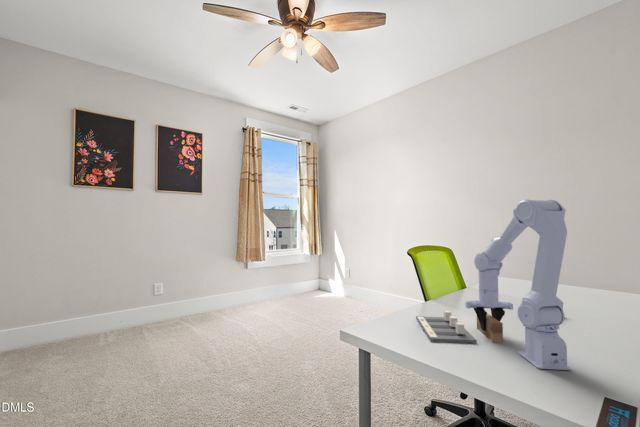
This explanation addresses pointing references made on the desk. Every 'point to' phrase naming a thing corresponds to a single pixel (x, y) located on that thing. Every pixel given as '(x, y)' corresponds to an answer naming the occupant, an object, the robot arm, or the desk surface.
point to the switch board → (443, 331)
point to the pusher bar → (492, 329)
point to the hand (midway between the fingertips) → (489, 330)
